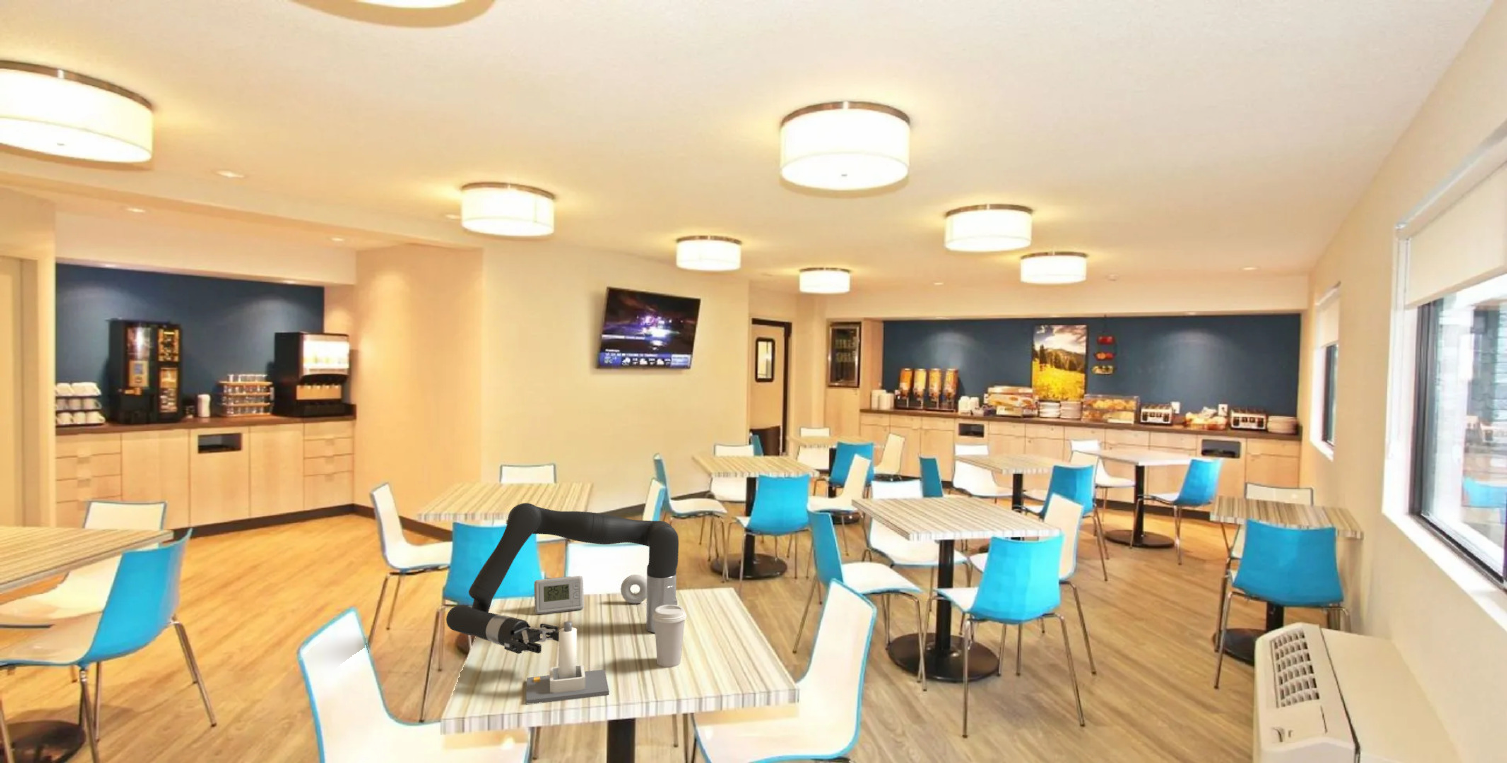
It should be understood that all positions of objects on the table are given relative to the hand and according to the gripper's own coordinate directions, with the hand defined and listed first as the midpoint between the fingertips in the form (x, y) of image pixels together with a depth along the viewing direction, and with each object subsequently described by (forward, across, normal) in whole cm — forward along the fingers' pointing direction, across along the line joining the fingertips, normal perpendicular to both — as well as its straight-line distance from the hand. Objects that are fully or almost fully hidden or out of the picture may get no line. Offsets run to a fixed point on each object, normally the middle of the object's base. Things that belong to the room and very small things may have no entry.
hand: (552, 643), depth 188 cm
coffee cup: (+19, +26, +11) cm, 34 cm away
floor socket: (+5, 0, +11) cm, 12 cm away
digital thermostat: (-37, +42, +11) cm, 57 cm away
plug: (+5, 0, +10) cm, 11 cm away
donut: (-19, +60, +11) cm, 64 cm away
